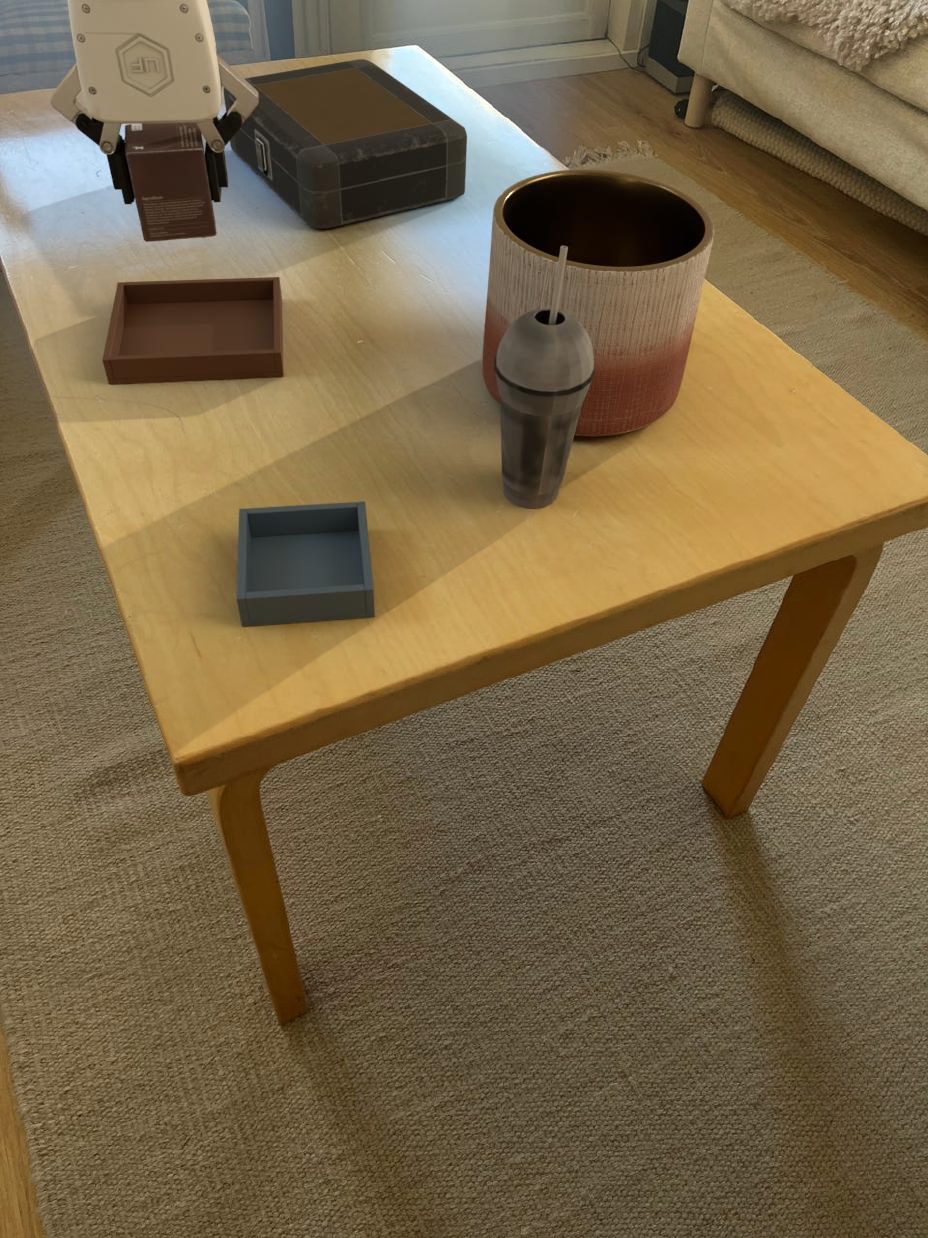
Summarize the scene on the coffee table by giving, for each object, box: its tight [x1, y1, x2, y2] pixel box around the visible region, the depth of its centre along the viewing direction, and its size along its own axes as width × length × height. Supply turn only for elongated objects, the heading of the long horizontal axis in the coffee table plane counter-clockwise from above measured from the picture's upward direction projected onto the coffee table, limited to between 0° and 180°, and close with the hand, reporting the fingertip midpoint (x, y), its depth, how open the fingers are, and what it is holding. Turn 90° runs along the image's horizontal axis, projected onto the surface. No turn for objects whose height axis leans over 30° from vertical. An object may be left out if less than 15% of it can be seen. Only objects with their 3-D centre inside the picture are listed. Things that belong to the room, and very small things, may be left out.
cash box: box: [223, 58, 468, 230], centre depth 115 cm, size 25×20×8 cm
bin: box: [236, 501, 376, 627], centre depth 71 cm, size 9×9×3 cm
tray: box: [102, 276, 284, 385], centre depth 91 cm, size 15×13×2 cm
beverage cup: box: [494, 246, 595, 509], centre depth 72 cm, size 7×7×20 cm
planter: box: [481, 168, 715, 438], centre depth 84 cm, size 18×18×16 cm
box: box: [123, 123, 218, 243], centre depth 81 cm, size 6×6×7 cm
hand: (173, 193), depth 82 cm, fingers closed on box, 6 cm apart
